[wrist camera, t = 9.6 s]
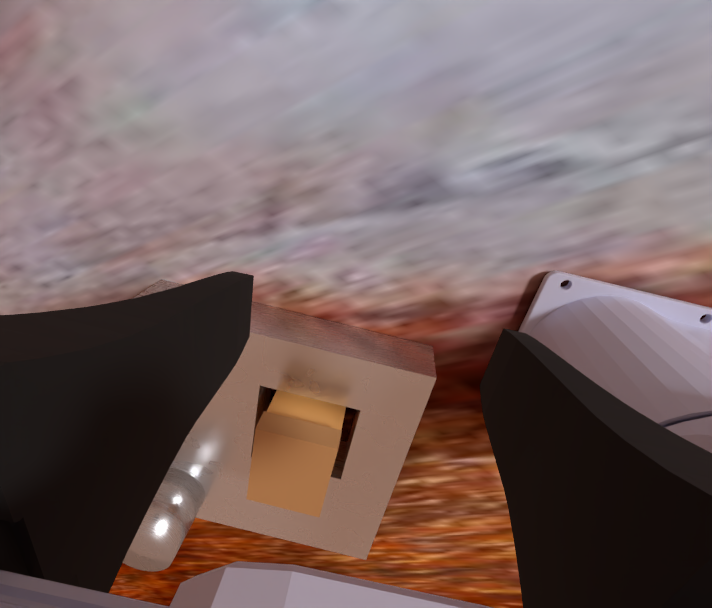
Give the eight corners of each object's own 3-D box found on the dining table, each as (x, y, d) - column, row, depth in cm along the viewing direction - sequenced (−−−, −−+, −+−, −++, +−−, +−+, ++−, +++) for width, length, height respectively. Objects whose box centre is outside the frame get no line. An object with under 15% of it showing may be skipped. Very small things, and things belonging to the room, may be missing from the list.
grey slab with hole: (432, 346, 22) (444, 437, 15) (369, 518, 29) (359, 629, 23) (161, 279, 22) (63, 344, 16) (165, 468, 29) (99, 564, 23)
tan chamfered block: (353, 372, 23) (338, 449, 18) (337, 433, 26) (319, 517, 20) (289, 357, 23) (255, 428, 18) (279, 419, 26) (246, 499, 20)
